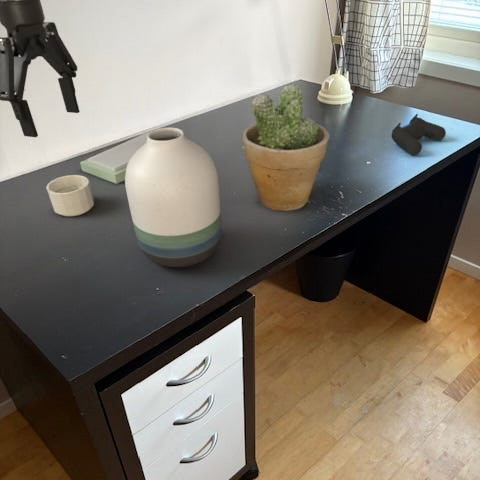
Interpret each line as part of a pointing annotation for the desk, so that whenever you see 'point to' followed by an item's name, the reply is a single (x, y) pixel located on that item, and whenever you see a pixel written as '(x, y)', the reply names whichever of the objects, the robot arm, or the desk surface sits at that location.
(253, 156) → the potted plant
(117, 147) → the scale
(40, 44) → the robot arm
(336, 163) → the desk surface
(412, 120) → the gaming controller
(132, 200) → the vase
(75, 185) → the beige cup
